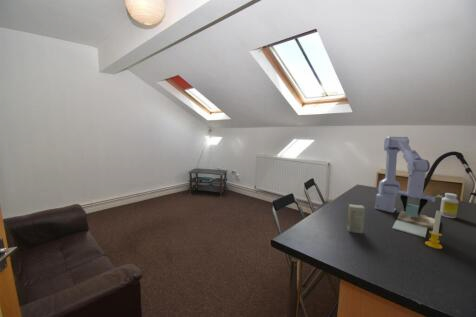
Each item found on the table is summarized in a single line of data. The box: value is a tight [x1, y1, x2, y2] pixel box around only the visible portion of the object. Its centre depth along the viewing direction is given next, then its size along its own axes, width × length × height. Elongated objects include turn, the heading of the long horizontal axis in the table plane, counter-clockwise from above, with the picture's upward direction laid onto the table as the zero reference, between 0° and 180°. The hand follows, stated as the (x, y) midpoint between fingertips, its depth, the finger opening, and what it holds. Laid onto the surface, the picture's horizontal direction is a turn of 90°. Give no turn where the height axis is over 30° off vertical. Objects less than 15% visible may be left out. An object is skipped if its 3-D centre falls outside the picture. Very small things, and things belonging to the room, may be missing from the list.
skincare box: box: [346, 203, 366, 234], centre depth 96 cm, size 6×4×12 cm
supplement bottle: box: [439, 192, 459, 219], centre depth 115 cm, size 7×7×13 cm
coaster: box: [391, 219, 428, 239], centre depth 100 cm, size 12×12×1 cm
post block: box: [396, 210, 435, 230], centre depth 108 cm, size 16×14×5 cm
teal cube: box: [404, 202, 419, 217], centre depth 98 cm, size 4×4×4 cm
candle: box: [424, 210, 443, 250], centre depth 84 cm, size 5×5×16 cm
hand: (411, 212), depth 98 cm, fingers closed on teal cube, 4 cm apart
